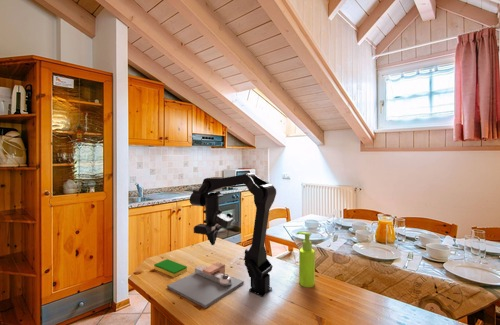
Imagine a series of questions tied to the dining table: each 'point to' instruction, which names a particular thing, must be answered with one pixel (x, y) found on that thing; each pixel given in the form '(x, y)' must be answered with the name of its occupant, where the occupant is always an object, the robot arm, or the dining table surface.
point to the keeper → (215, 268)
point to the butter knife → (236, 258)
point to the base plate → (202, 289)
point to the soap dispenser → (306, 262)
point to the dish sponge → (170, 268)
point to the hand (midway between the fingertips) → (212, 244)
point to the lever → (215, 277)
